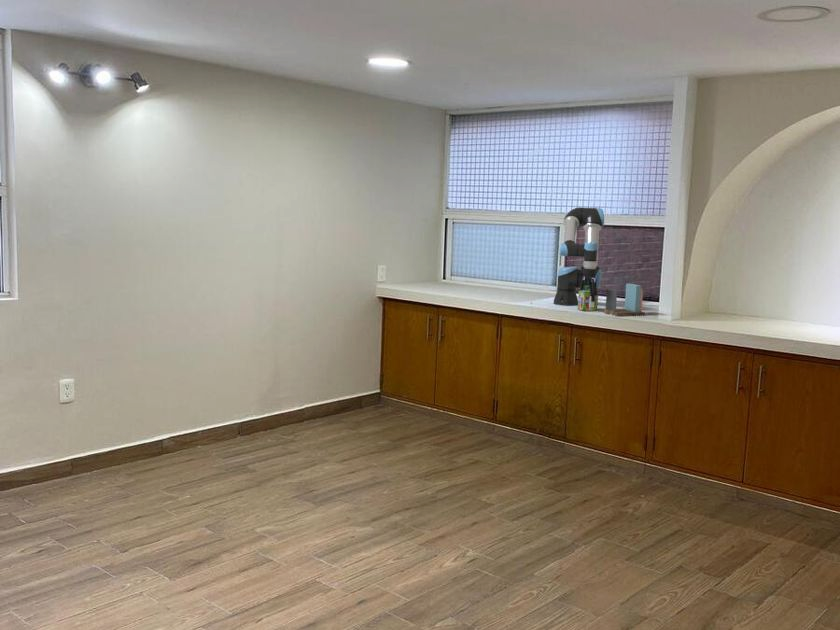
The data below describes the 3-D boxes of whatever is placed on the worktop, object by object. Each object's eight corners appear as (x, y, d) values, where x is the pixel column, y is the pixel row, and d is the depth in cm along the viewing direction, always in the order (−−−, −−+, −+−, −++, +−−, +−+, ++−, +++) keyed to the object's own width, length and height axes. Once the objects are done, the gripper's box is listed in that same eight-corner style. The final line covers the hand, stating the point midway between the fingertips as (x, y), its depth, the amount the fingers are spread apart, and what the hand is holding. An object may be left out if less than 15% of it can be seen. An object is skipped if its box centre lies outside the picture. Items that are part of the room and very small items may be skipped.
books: (624, 309, 472) (626, 283, 470) (631, 309, 474) (633, 283, 471) (634, 311, 462) (636, 285, 460) (642, 311, 463) (643, 285, 461)
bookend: (605, 309, 468) (606, 289, 466) (606, 309, 468) (608, 289, 467) (614, 312, 459) (615, 291, 457) (615, 312, 459) (617, 291, 457)
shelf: (602, 312, 471) (602, 308, 471) (629, 311, 476) (629, 308, 476) (616, 316, 456) (616, 312, 456) (644, 315, 461) (644, 312, 461)
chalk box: (583, 311, 473) (584, 286, 471) (577, 309, 482) (578, 284, 479) (597, 311, 475) (599, 286, 472) (591, 309, 483) (593, 284, 481)
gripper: (575, 266, 484) (573, 303, 487) (593, 269, 463) (590, 308, 466) (586, 266, 486) (584, 303, 489) (604, 270, 465) (602, 308, 468)
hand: (587, 305), depth 478 cm, fingers closed on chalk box, 9 cm apart
